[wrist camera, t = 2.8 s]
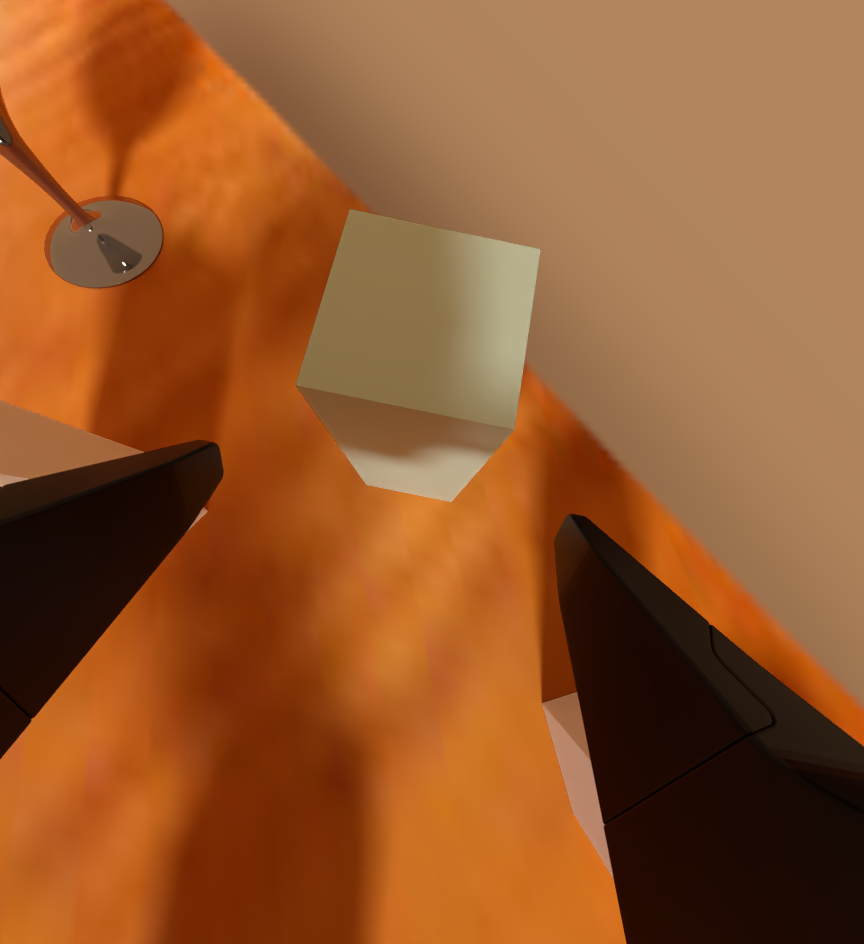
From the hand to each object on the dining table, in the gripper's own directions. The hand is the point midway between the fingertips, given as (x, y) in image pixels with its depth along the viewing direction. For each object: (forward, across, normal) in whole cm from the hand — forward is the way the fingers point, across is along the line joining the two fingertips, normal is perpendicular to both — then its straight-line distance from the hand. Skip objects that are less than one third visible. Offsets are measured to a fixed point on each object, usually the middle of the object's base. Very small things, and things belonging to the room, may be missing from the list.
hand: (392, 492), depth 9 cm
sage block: (+11, 0, +5) cm, 12 cm away
